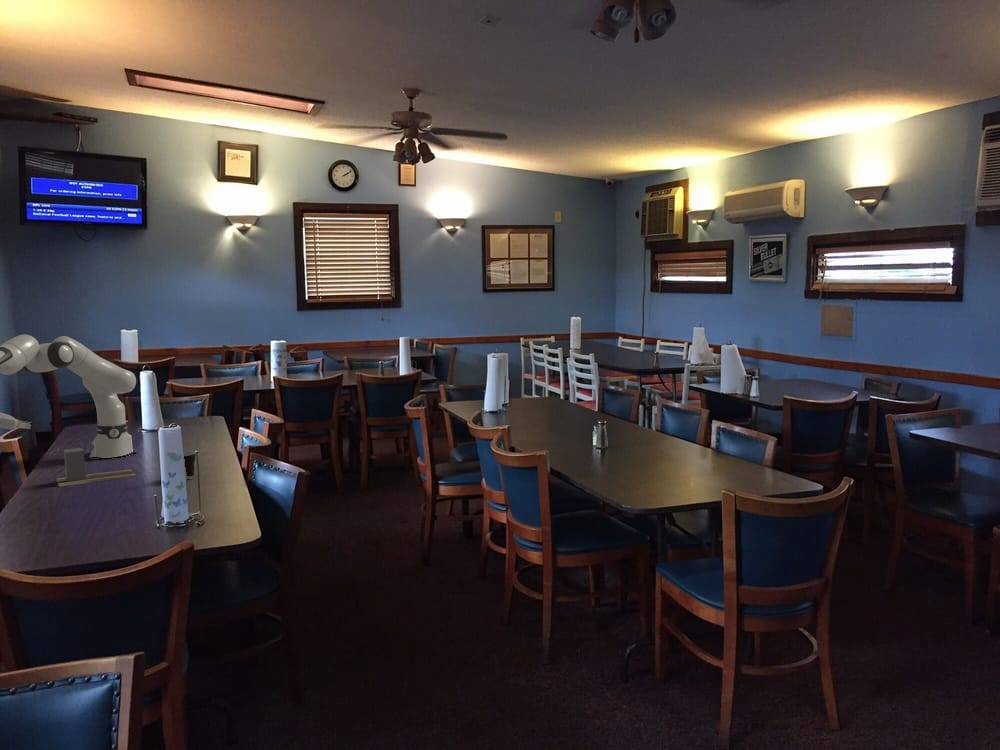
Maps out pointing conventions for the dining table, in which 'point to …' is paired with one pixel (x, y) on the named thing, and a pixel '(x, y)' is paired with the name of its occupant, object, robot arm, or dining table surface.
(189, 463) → the coffee mug
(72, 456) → the block
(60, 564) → the dining table surface
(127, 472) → the chute
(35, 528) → the dining table surface
